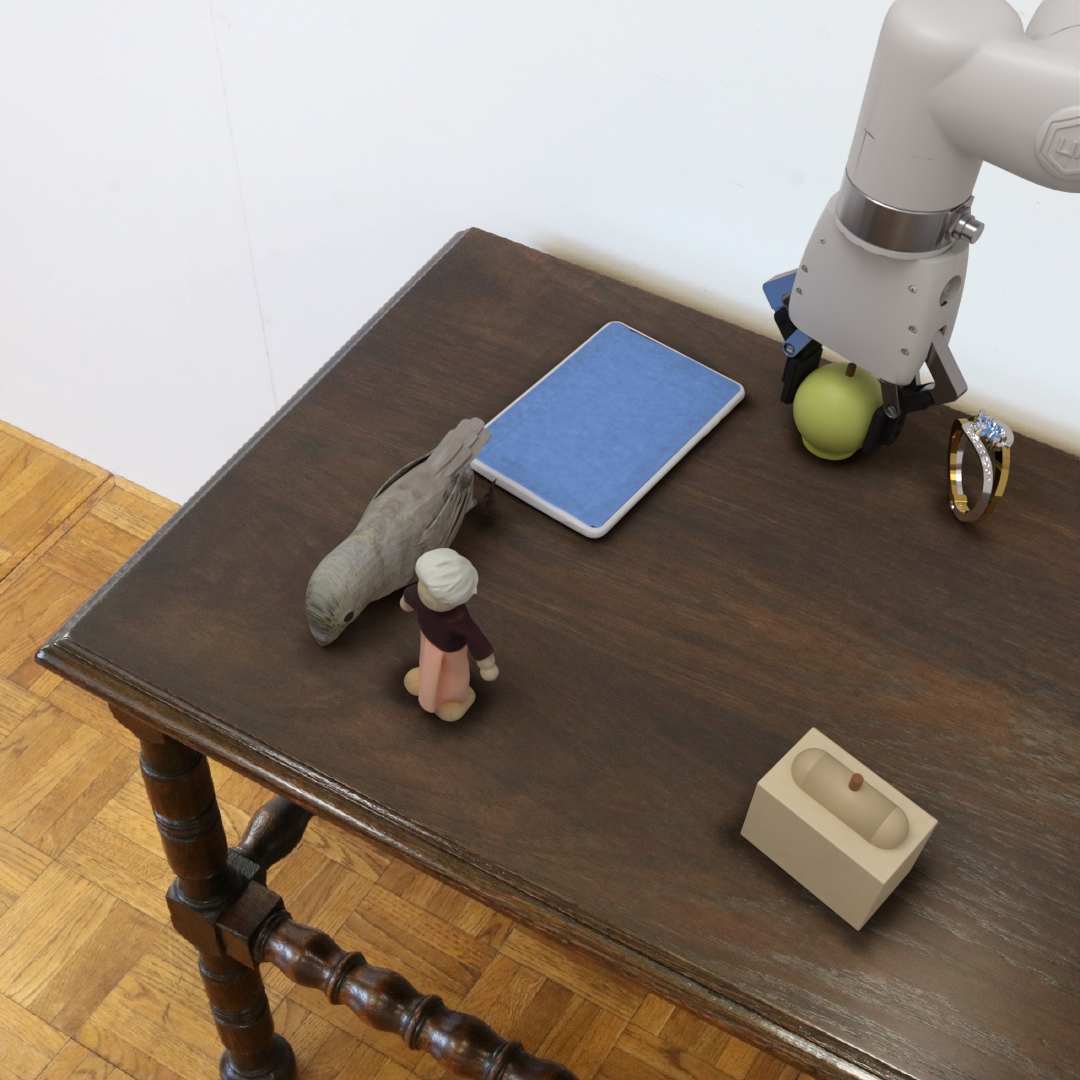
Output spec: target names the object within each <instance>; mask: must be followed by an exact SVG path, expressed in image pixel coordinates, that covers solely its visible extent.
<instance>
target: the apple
mask: <svg viewBox="0 0 1080 1080" xmlns="http://www.w3.org/2000/svg"><path fill="white" fill-rule="evenodd" d="M792 404H793V405H792V415H793V419H794V423H795V425H796V428H797V430H798V432H799V433H800V435H801V440H802V443H803V445H804V447H805V448H806V449H807V450H808V451H809V452H810V453H812V454H813V455H814V456H816V457H818V458H821V459H824V460H829V461H841V460H846V459H847V458H850V457H852V456H853V455H854V454H855V453H856V451H858V450H861V449H862V446H863V443H864V440H865V437H866V434H867V431H868V428H869V425H870V422H871V419H872V416H873V413H874V412H875V410H876V409H878V408H879V407H880V406H881V405H882V404H883V400H882V393H881V385H880V380H878V379H877V378H876V376H875V375H874V374H872V373H870V372H868V371H866V370H865V369H863V368H861V367H859V366H858V365H856V364H854V363H853V362H846V361H845V362H843V361H842V362H841V361H840V362H839V361H838V362H837V361H836V362H830V363H827V364H825V365H822V366H819V367H818V368H817V369H816V370H814V371H813V372H811V373H810V374H809V375H808V376H807V377H806V378H805V379H804V380H803V382H802V383H801V384H800V386H799V388H798V390H797V392H796V395H795V398H794V402H793V403H792Z"/></svg>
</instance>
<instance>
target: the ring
mask: <svg viewBox="0 0 1080 1080" xmlns="http://www.w3.org/2000/svg"><path fill="white" fill-rule="evenodd" d="M985 413H986V409H985V408H981V407H980V408H979V411H978V413H977V415H973V416H971V417H969V418H965V417H964V418H963V417H962V418H955V419H954V420H953V422H952V423H951V424H952V425H951V428H950V432H949V438H948V445H947V457H946V458H947V460H946V474H947V475H946V476H947V478H946V479H947V488H948V489H947V490H948V497H949V501H948V502H949V504H948V505H949V509H950V511H953V513H954V515H955V518H956V519H958V520H959V521H960V522H964V523H965V522H966V523H974V524H975V523H976V524H977V523H981V522H983V521H985V520H986V519H988V518H989V517H990V515H991V514H992V513H993V512H994V511H995V509H996V508H997V506H998V504H999V503H1000V501H1001V499H1002V497H1003V494H1004V492H1005V489H1006V487H1007V482H1008V478H1009V474H1010V466H1011V447H1012V445H1013V443H1014V442H1015V441H1014V440H1015V436H1014V433H1013V431H1012V428H1010V426H1009V425H1007V424H1006V423H1005V422H1004V421H1002V420H1000V419H999V416H991V415H985ZM967 441H968V442H969V443H970V445H971V447H972V448H973V450H974V452H975V454H976V456H977V459H978V461H979V464H980V470H981V485H980V491H979V495H978V498H977V501H976V503H975V505H974V506H973V507H972V509H970V508H969V507H968V505H967V504H968V497H967V495H966V494H964V491H963V484H962V465H963V455H964V451H965V446H966V443H967ZM1000 441H1001V442H1000ZM987 450H988V451H990V452H991V451H994V459H995V468H994V469H995V470H994V474H993V465H992V461H991V458H990V455H989V453H988V451H987ZM993 476H994V477H993Z"/></svg>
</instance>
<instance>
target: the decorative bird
mask: <svg viewBox="0 0 1080 1080" xmlns="http://www.w3.org/2000/svg"><path fill="white" fill-rule="evenodd" d="M484 426H485V421H483V419H481V418H479V417H476V416H474V417H472V418H471V419H469V418H463V419H462V420H460V422H459V423H458V424H457V425H456V426H455V428H453V429H450V430H449V431H448V432H447V433H446V434H445V436H444V437H443V438H442V440H441V441H440V442H439V443H438V445H437V446H436V447H435V448H433V449H431V451H429V452H427V453H425V454H424V455H421V456H419V457H417V458H416V459H413V460H412V461H410V462H409V463H407V464H405V465H404V466H403V467H401V468H399V470H397V471H395V472H394V473H393V474H392V475H391V476H390V477H389V478H388V479H387V480H386V481H385V482H383V484H382V485H381V487H380V488H379V489H378V490H377V491H376V493H375V494H374V496H373V497H372V498H371V501H369V503H368V505H367V507H366V508H365V510H364V512H363V513H362V515H361V518H360V520H359V522H358V523H357V525H356V527H355V529H354V530H353V531H352V532H351V533H350V534H349V536H347V538H345V539H344V540H343V541H341V542H340V543H339V544H338V545H337V546H336V547H335V548H334V549H332V550H331V551H330V552H329V553H328V554H327V555H325V556H324V558H323V559H322V560H321V561H320V562H319V564H318V565H317V567H316V568H315V569H314V571H313V572H312V574H311V576H310V578H309V581H308V585H307V588H306V591H305V604H304V609H305V616H306V620H307V623H308V627H309V630H310V632H311V634H312V636H313V638H314V640H315V641H316V642H317V644H318V645H319V646H320V647H321V648H322V647H326V646H328V645H330V644H331V643H333V642H334V641H335V640H337V639H338V638H339V636H340V635H341V634H342V633H343V631H344V630H345V629H346V628H347V627H348V626H349V625H350V624H351V623H352V622H354V621H355V620H356V619H357V618H358V617H359V616H360V614H361V613H362V612H363V610H364V609H365V608H366V607H367V606H368V604H370V603H371V602H376V601H378V600H380V599H382V598H384V597H386V596H390V594H392V593H394V592H395V591H398V590H400V589H402V588H404V587H408V586H411V585H413V584H415V583H416V582H417V583H418V581H419V578H418V576H417V574H416V571H415V567H416V563H417V560H418V559H419V557H421V556H422V555H423V554H424V553H426V552H429V551H432V550H435V549H439V548H449V549H450V547H451V545H452V544H453V542H454V540H455V538H456V536H457V534H458V532H459V530H460V528H461V525H462V523H463V521H464V519H465V516H466V514H467V513H468V512H469V511H470V510H471V509H473V508H478V507H481V506H483V505H484V507H483V516H484V518H486V517H487V513H488V510H489V508H490V510H491V513H492V514H493V515H494V516H495V517H496V518H497V519H499V520H501V518H500V516H499V515H498V513H497V509H496V495H495V494H494V491H495V486H496V484H495V483H496V480H497V478H496V479H495V480H494V481H493V482H492V483H491V484H490V487H489V490H488V492H486V493H485V494H484V496H483V498H481V499H480V500H477V499H476V498H473V496H474V495H473V494H474V484H475V474H474V470H473V469H472V468H471V467H470V463H471V462H472V461H473V460H474V459H475V458H476V457H477V456H478V455H479V454H480V452H481V451H482V449H483V446H484V445H485V444H486V443H487V442H488V441H489V440H490V438H491V436H492V435H491V433H490V431H488V430H487V429H486V428H484Z"/></svg>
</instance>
